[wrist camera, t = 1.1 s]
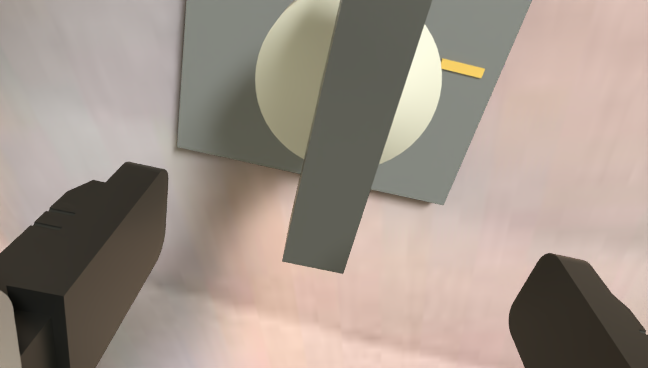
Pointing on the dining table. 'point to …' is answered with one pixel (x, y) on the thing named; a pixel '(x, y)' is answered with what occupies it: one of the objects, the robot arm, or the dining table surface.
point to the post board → (266, 150)
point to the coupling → (344, 108)
